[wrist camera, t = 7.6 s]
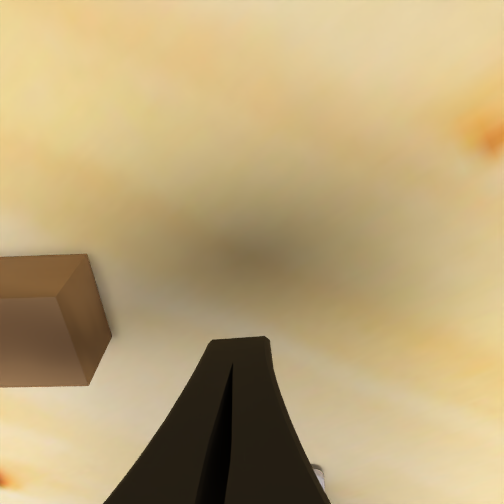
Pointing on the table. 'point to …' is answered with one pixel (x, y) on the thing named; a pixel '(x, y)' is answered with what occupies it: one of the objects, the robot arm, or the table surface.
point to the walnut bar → (50, 321)
